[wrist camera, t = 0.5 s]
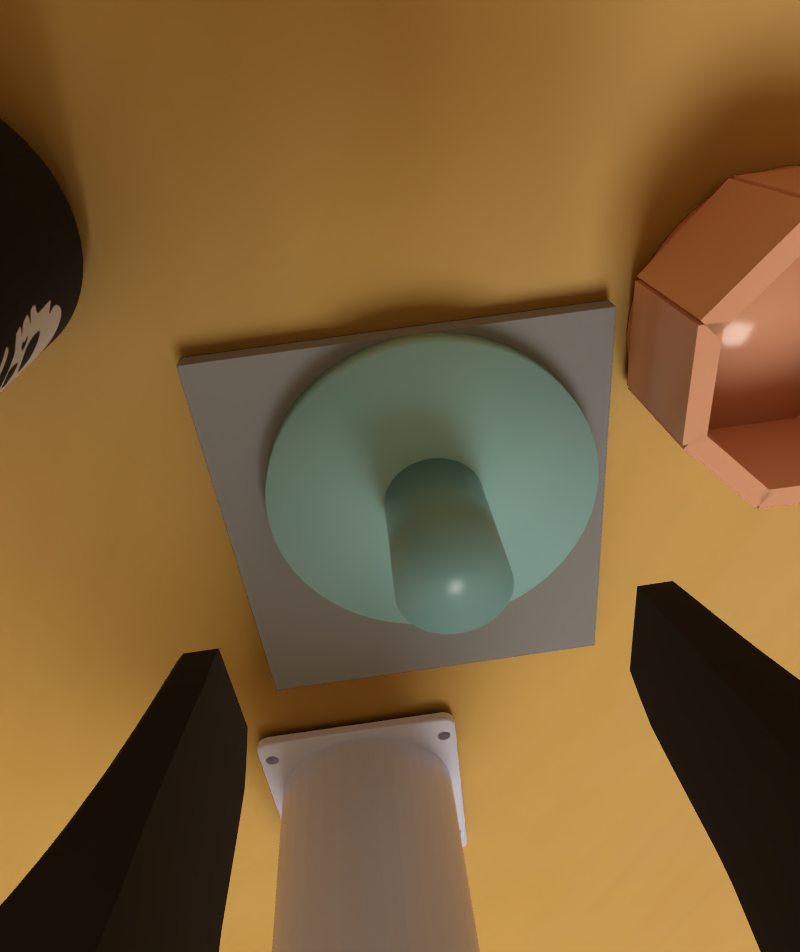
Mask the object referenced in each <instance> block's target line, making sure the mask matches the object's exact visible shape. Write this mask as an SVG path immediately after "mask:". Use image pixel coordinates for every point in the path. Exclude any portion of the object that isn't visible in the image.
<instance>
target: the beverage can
mask: <svg viewBox="0 0 800 952" xmlns="http://www.w3.org/2000/svg"><path fill="white" fill-rule="evenodd" d="M82 278H83V256H82V248H81V240H80V236H79V233H78V229H77V225H76V221H75V219H74V216H73V213H72V211H71V208H70V206H69V203H68V201H67V199H66V197H65V195H64V193H63V192H62V190H61V188H60V186H59V184H58V182H57V181H56V179H55V178H54V176H53V175H52V173H51V172H50V170H49V169H48V167H47V166H46V165H45V163H44V162H43V161H42V160H41V158H40V157H39V156H38V155H37V154H36V152H35V151H34V150H33V149H32V148H31V147H30V146H29V145H28V144H27V143H26V141H25V140H24V139H23V138H22V137H20V136H19V135H18V134H17V133H16V132H15V131H14V130H13V129H12V128H11V127H9V126H8V125H7V124H6V123H5V122H3V121H2V120H1V119H0V392H2V391H3V390H4V389H5V388H6V387H7V386H8V385H9V384H10V383H11V382H12V381H13V380H14V379H15V378H16V377H17V376H18V375H19V374H20V373H21V372H22V371H23V370H24V369H25V368H26V367H27V366H28V365H29V364H30V363H31V362H32V361H33V360H34V359H35V358H36V357H37V356H38V355H39V354H40V353H41V352H42V351H43V350H44V349H45V348H46V347H47V346H48V345H49V344H50V343H51V342H53V341H54V340H55V339H56V338H57V336H58V335H59V334H60V333H61V332H62V331H63V329H64V328H65V327H66V325H67V323H68V322H69V320H70V318H71V317H72V315H73V313H74V310H75V308H76V305H77V302H78V299H79V295H80V291H81V285H82Z"/></svg>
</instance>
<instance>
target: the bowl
mask: <svg viewBox="0 0 800 952" xmlns="http://www.w3.org/2000/svg"><path fill="white" fill-rule="evenodd" d="M637 277H638V278H639V279H641V280H635V287H634V299H633V302H632V306H631V310H630V313H629V320H628V327H627V353H628V361H629V365H628V378H627V386H628V387H629V388H628V389H629V390H630V391H631V392H632V393H633V394H634V395H635V396H636V398H637V399H638V400H639V401H640V402H641V403H642V404H643V405H644V406H645V407H646V409H647V410H648V411H649V412H650V413H651V414H652V415H653V416H654V417H655V418H656V420H657V421H658V422H659V423H660V424H661V425H662V426H663V427H664V428H665V429H666V431H667V432H668V433H669V434H670V435H671V436H672V437H673V438H674V439H675V440H676V442H677V443H678V444H679V445H680V446H681V447H682V448H683V449H684V450H685V451H686V452H687V453H689V454H690V455H691V456H692V457H693V458H695V459H696V460H697V461H698V462H699V463H701V464H702V465H703V466H704V467H705V468H707V469H708V470H709V471H710V472H711V473H713V474H714V475H715V476H716V477H717V478H719V479H720V480H721V481H722V482H723V483H725V484H726V485H727V486H728V487H729V488H731V489H732V490H733V491H734V492H735V493H736V494H738V495H739V496H740V497H741V498H742V499H744V500H745V501H746V502H747V503H748V504H750V505H751V506H752V507H753V508H754V509H755V508H756V507H757V508H758V509H765V508H772V507H779V506H786V505H793V504H800V165H798V166H785V167H780V168H775V169H771V170H766V171H763V172H758V173H750V174H743V175H735V176H734V177H733V179H730V178H728V180H727V181H726V182H725V183H724V184H723V185H722V186H721V187H720V188H719V189H718V190H717V191H716V192H715V193H714V194H713V196H712V197H710V198H709V199H707V200H706V201H705V202H703V203H702V204H701V205H700V206H698V207H697V208H696V209H695V210H693V211H692V212H691V213H690V214H689V215H688V216H687V217H686V218H685V219H684V220H683V221H682V222H681V223H680V224H679V225H678V226H677V227H676V228H675V229H674V230H673V231H672V232H671V234H670V235H669V236H668V237H667V238H666V240H665V241H664V242H663V243H662V245H661V246H660V248H659V249H658V251H657V252H656V253H655V255H654V256H653V258H652V259H651V261H650V263H649V264H648V265H647V266H646V267H645V268H644V269H643V270H642V271H641V272H640V273H639V274H638V275H637Z"/></svg>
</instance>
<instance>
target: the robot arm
mask: <svg viewBox="0 0 800 952" xmlns="http://www.w3.org/2000/svg"><path fill="white" fill-rule="evenodd" d="M630 672H631V674H632V677H633V680H634V682H635V685H636V688H637V691H638V693H639V696H640V699H641V701H642V704H643V706H644V709H645V711H646V714H647V717H648V719H649V722H650V724H651V726H652V728H653V730H654V732H655V734H656V736H657V738H658V740H659V742H660V744H661V746H662V748H663V750H664V752H665V754H666V756H667V758H668V760H669V761H670V763H671V765H672V767H673V769H674V771H675V773H676V775H677V777H678V779H679V781H680V782H681V784H682V786H683V788H684V790H685V792H686V794H687V796H688V798H689V799H690V801H691V803H692V805H693V807H694V809H695V811H696V813H697V815H698V817H699V818H700V820H701V822H702V824H703V826H704V828H705V830H706V832H707V834H708V836H709V837H710V839H711V841H712V843H713V845H714V847H715V849H716V851H717V853H718V855H719V857H720V859H721V861H722V863H723V865H724V867H725V869H726V871H727V873H728V876H729V878H730V880H731V882H732V884H733V886H734V889H735V891H736V894H737V896H738V898H739V901H740V903H741V906H742V908H743V910H744V913H745V915H746V918H747V920H748V922H749V925H750V927H751V929H752V932H753V934H754V937H755V939H756V941H757V944H758V946H759V949H760V951H761V952H800V680H799V679H797V678H796V677H795V676H793V675H792V674H791V673H789V672H788V671H787V670H785V669H784V668H783V667H781V666H780V665H779V664H777V663H776V662H775V661H773V660H772V659H771V658H769V657H768V656H767V655H765V654H764V653H763V652H761V651H760V650H759V649H757V648H756V647H755V646H754V645H752V644H751V643H750V642H748V641H747V640H746V639H744V638H743V637H742V636H741V635H739V634H738V633H737V632H736V631H734V630H733V629H732V628H731V627H729V626H728V625H727V624H726V623H724V622H723V621H722V620H721V619H719V618H718V617H717V616H716V615H714V614H713V613H712V612H711V611H709V610H708V609H707V608H706V607H704V606H703V605H702V604H701V603H699V602H698V601H697V600H696V599H694V598H693V597H692V596H691V595H690V594H688V593H687V592H686V591H684V590H683V589H682V588H681V587H679V586H678V585H677V584H676V583H674V582H673V581H670V582H663V583H656V584H650V585H643V586H637V596H636V607H635V618H634V630H633V641H632V652H631V663H630ZM246 754H247V725H246V722H245V719H244V716H243V714H242V711H241V708H240V705H239V703H238V700H237V697H236V694H235V692H234V689H233V686H232V683H231V681H230V678H229V675H228V673H227V670H226V667H225V664H224V662H223V659H222V656H221V653H220V651H219V649H212V650H205V651H198V652H192V653H185V654H183V655H182V656H181V657H180V658H179V660H178V661H177V663H176V664H175V666H174V668H173V669H172V671H171V672H170V674H169V676H168V677H167V679H166V680H165V682H164V684H163V685H162V687H161V688H160V690H159V692H158V693H157V695H156V696H155V698H154V700H153V701H152V703H151V704H150V706H149V707H148V709H147V711H146V712H145V714H144V715H143V717H142V718H141V720H140V721H139V723H138V725H137V726H136V728H135V729H134V731H133V732H132V734H131V735H130V737H129V738H128V740H127V741H126V743H125V744H124V746H123V747H122V749H121V750H120V751H119V753H118V754H117V756H116V757H115V759H114V760H113V762H112V763H111V765H110V766H109V768H108V769H107V771H106V772H105V774H104V775H103V776H102V778H101V779H100V781H99V782H98V783H97V785H96V786H95V787H94V789H93V790H92V791H91V793H90V794H89V796H88V797H87V798H86V800H85V801H84V802H83V804H82V805H81V806H80V808H79V809H78V811H77V812H76V813H75V815H74V816H73V817H72V819H71V820H70V821H69V823H68V824H67V825H66V827H65V828H64V829H63V831H62V832H61V833H60V834H59V836H58V837H57V838H56V840H55V841H54V842H53V843H52V845H51V846H50V847H49V848H48V850H47V851H46V852H45V853H44V855H43V856H42V857H41V858H40V860H39V861H38V862H37V863H36V864H35V866H34V867H33V868H32V869H31V870H30V872H29V873H28V874H27V875H26V876H25V877H24V879H23V880H22V881H21V882H20V883H19V885H18V886H17V887H16V888H15V889H14V891H13V892H12V893H11V894H10V895H9V896H8V897H7V899H6V900H5V901H4V902H3V903H2V904H1V905H0V952H219V946H220V938H221V930H222V924H223V918H224V911H225V905H226V899H227V893H228V887H229V881H230V875H231V869H232V863H233V857H234V851H235V845H236V839H237V833H238V827H239V821H240V814H241V808H242V802H243V795H244V789H245V774H246ZM257 754H258V756H259V759H260V762H261V765H262V768H263V770H264V773H265V776H266V779H267V782H268V784H269V787H270V790H271V793H272V796H273V798H274V801H275V804H276V807H277V810H278V812H279V815H280V818H281V830H280V845H279V859H278V873H277V887H276V902H275V916H274V930H273V944H272V952H480V951H479V945H478V938H477V932H476V926H475V920H474V914H473V908H472V902H471V896H470V890H469V884H468V878H467V871H466V865H465V859H464V853H463V847H464V846H465V845H466V844H467V837H466V827H465V817H464V807H463V798H462V788H461V778H460V768H459V758H458V748H457V738H456V729H455V722H454V718H453V716H452V715H451V714H449V713H446V712H440V713H433V714H426V715H419V716H412V717H405V718H398V719H391V720H384V721H377V722H370V723H363V724H356V725H349V726H342V727H335V728H328V729H321V730H314V731H307V732H300V733H293V734H286V735H279V736H272V737H267V738H264V739H262V740H261V741H260V742H259V743H258V749H257Z"/></svg>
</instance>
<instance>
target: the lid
mask: <svg viewBox="0 0 800 952" xmlns="http://www.w3.org/2000/svg"><path fill="white" fill-rule="evenodd" d="M598 479H599V477H598V457H597V451H596V445H595V441H594V438H593V435H592V433H591V430H590V427H589V424H588V422H587V420H586V419H585V417H584V415H583V413H582V411H581V410H580V408H579V406H578V405H577V403H576V402H575V401H574V399H573V398H572V396H571V395H570V394H569V393H568V391H567V390H566V389H565V387H564V386H563V385H562V384H561V382H560V381H559V380H558V379H557V378H556V377H555V376H554V375H553V374H552V373H551V372H550V371H549V370H548V369H546V368H545V367H544V366H543V365H541V364H540V363H539V362H537V361H536V360H534V359H533V358H531V357H530V356H528V355H527V354H525V353H523V352H521V351H519V350H517V349H515V348H513V347H511V346H509V345H507V344H504V343H501V342H498V341H495V340H492V339H489V338H485V337H480V336H474V335H469V334H464V333H448V332H433V333H419V334H412V335H407V336H402V337H397V338H392V339H389V340H386V341H383V342H380V343H377V344H374V345H371V346H368V347H366V348H364V349H362V350H360V351H358V352H356V353H354V354H352V355H350V356H347V357H346V358H344V359H343V360H341V361H340V362H338V363H337V364H335V365H334V366H332V367H331V368H329V369H328V370H326V371H325V372H324V373H323V374H322V375H321V376H319V377H318V378H317V379H316V380H315V381H314V382H312V383H311V384H310V385H309V386H308V388H307V389H306V390H305V391H304V392H303V393H302V394H301V395H300V397H299V398H298V399H297V400H296V401H295V403H294V404H293V406H292V407H291V409H290V410H289V412H288V413H287V415H286V416H285V418H284V420H283V422H282V424H281V426H280V428H279V431H278V433H277V435H276V437H275V441H274V444H273V447H272V451H271V454H270V459H269V465H268V472H267V479H266V486H265V496H266V511H267V516H268V522H269V526H270V529H271V532H272V534H273V537H274V540H275V542H276V544H277V546H278V548H279V550H280V552H281V554H282V556H283V557H284V559H285V560H286V561H287V563H288V564H289V566H290V567H291V568H292V570H293V571H294V572H295V573H296V574H297V575H298V576H299V577H300V578H301V579H302V580H303V581H304V582H305V583H306V584H307V585H308V586H309V587H310V588H312V589H313V590H314V591H316V592H317V593H318V594H319V595H321V596H322V597H324V598H326V599H327V600H329V601H331V602H332V603H334V604H336V605H338V606H340V607H342V608H344V609H347V610H349V611H351V612H353V613H356V614H360V615H363V616H366V617H369V618H373V619H377V620H382V621H387V622H394V623H404V624H413V625H414V626H416V627H418V628H420V629H422V630H425V631H428V632H432V633H437V634H459V633H464V632H468V631H471V630H474V629H477V628H479V627H482V626H483V625H485V624H487V623H489V622H490V621H492V620H493V619H494V618H496V617H497V616H498V615H499V614H500V613H501V612H502V611H503V610H504V608H505V607H506V606H507V604H508V603H509V602H511V601H513V600H515V599H516V598H518V597H520V596H522V595H523V594H525V593H526V592H528V591H529V590H531V589H532V588H534V587H535V586H536V585H538V584H539V583H540V582H541V581H543V580H544V579H545V578H546V577H548V576H549V575H550V574H551V573H552V572H553V571H554V570H555V569H556V568H557V567H558V566H559V565H560V564H561V563H562V562H563V561H564V559H565V558H566V557H567V555H568V554H569V553H570V552H571V550H572V549H573V548H574V546H575V545H576V543H577V541H578V540H579V538H580V536H581V535H582V533H583V532H584V529H585V527H586V525H587V523H588V520H589V518H590V516H591V513H592V510H593V506H594V503H595V499H596V494H597V487H598Z"/></svg>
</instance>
